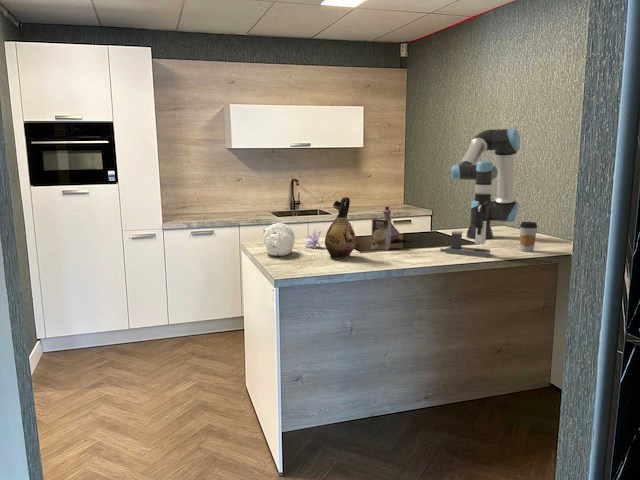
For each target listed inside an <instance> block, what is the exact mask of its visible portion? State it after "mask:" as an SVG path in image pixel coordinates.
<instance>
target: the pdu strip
mask: <svg viewBox="0 0 640 480" xmlns="http://www.w3.org/2000/svg"><path fill="white" fill-rule="evenodd" d="M439 251H440V252H444V253H445V254H447V255H448V254H449V255H456V256H457V255H458V256H465V257H466V256H468V257H477V258H484V259H485V258H487V257H489V256H490V255H491V249H489V248H488V249H486V248H478V247H468V246H461V249H451V245H450V246H448V247H447V248H443V247H442V248H440V250H439Z"/></svg>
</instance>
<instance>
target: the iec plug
mask: <svg viewBox="0 0 640 480" xmlns="http://www.w3.org/2000/svg"><path fill="white" fill-rule="evenodd" d="M482 228H483V236H482V241H476V237H477V228H476V235H475V239H474V244H475V245H484V244H486V240H487V239H486V221H483V226H482Z"/></svg>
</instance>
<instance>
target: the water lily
mask: <svg viewBox="0 0 640 480" xmlns="http://www.w3.org/2000/svg"><path fill="white" fill-rule="evenodd" d="M321 234H322V230H319V232H317V229H316V228H314V229H313V233H310V234H309V235H307V236H306V237H305V239H306V240H307V241H305V243H306V244H305V245H304V247H305V246H307V247H311V248H312V249H313V248H314V249H313V250H315V249H316V248H317V245H318V246H319V247H321V244H320V243H319V241H320V238H319V237H321Z"/></svg>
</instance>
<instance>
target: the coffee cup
mask: <svg viewBox="0 0 640 480" xmlns="http://www.w3.org/2000/svg"><path fill="white" fill-rule="evenodd" d="M519 228H520V232H519V233H520V235H519V238H520V239H519V240H520V242H519V243H520V246H519V247H520V248H519V249H520V251H521V252H523V253H533V252H534V249H535V244H536V237H537V230H538V224H537V222H535V221H533V222H532V221H521V223H520V227H519Z"/></svg>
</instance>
